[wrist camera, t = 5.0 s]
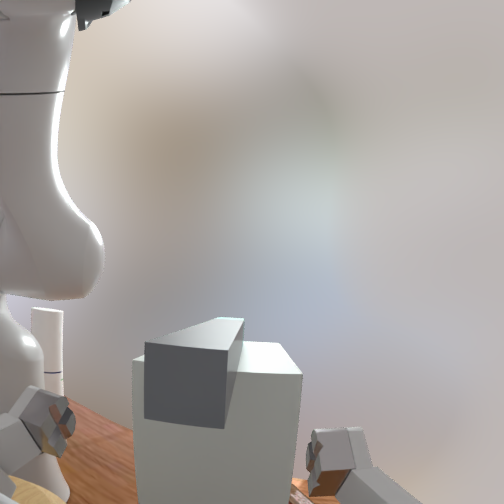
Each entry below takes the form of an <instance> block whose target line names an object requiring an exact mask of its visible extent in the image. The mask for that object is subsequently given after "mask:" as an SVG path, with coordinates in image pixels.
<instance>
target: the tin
mask: <svg viewBox="0 0 504 504" xmlns="http://www.w3.org/2000/svg"><path fill="white" fill-rule="evenodd" d="M289 504H314V503H313V502H312V501H311V500H310V499H309V498H307V497H306V496H305V495H304V494H303V493H302V492H301V491H300V490H299V489H298V488H297V487H295V486H294V485H293V484H291V490H290V497H289Z"/></svg>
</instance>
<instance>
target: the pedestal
mask: <svg viewBox="0 0 504 504" xmlns="http://www.w3.org/2000/svg"><path fill="white" fill-rule="evenodd" d="M302 379H303V374H302V372H301V371H300V370H299V368H298V367H297V366H296V365H295V363H294V362H293V361H292V359H291V358H290V357H289V356H288V354H287V353H286V352H285V350H284V349H283V347H282V346H281V345H280V344H279V343H265V342H247V341H245V342H244V341H243V347H242V351H241V356H240V360H239V365H238V370H237V374H236V379H235V383H234V388H233V392H232V397H231V401H230V406H229V410H228V415H227V419H226V424H225V428H224V429H216V428H206V427H197V426H189V425H181V424H174V423H167V422H161V421H155V420H149V419H144V355H143V356H140V357H138V358H136V359H133V361H132V411H133V412H132V414H133V441H134V458H135V471H136V483H137V493H138V502H139V504H289V497H290V490H291V482H292V474H293V466H294V458H295V450H296V441H297V432H298V422H299V412H300V401H301V391H302Z"/></svg>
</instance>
